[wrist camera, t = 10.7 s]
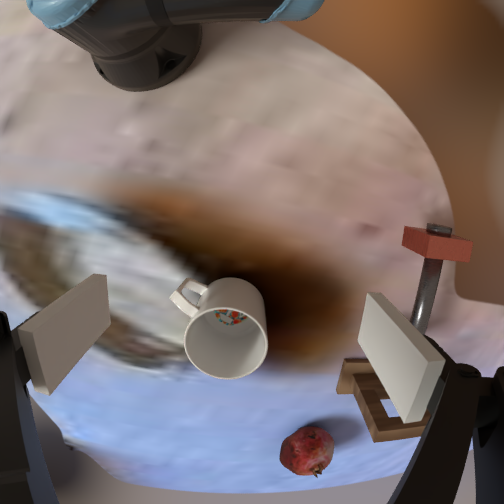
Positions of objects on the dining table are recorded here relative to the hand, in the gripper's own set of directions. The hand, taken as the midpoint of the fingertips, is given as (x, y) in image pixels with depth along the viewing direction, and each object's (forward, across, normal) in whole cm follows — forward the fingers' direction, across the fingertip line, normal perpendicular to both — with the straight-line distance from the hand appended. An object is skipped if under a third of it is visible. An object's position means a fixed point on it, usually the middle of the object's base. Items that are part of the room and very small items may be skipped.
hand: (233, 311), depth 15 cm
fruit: (+26, +12, -36) cm, 46 cm away
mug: (+27, -2, -10) cm, 29 cm away
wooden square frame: (+26, +22, -22) cm, 41 cm away
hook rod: (+22, +22, -7) cm, 32 cm away
